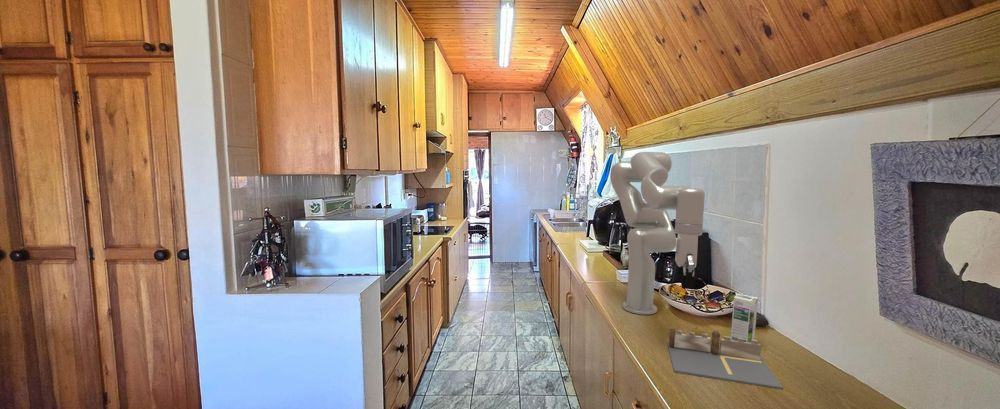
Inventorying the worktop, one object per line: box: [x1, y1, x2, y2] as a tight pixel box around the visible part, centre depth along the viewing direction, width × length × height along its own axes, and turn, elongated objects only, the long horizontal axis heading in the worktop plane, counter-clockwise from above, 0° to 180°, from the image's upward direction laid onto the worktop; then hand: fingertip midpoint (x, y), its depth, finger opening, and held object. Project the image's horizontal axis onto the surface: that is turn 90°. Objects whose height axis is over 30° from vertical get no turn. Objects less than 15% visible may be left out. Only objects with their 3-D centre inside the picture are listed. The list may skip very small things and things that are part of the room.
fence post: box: [710, 330, 762, 361], centre depth 113 cm, size 2×12×7 cm, turn 73°
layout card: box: [666, 340, 784, 390], centre depth 110 cm, size 18×25×1 cm
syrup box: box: [729, 293, 759, 343], centre depth 123 cm, size 6×6×14 cm
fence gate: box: [668, 328, 712, 352], centre depth 116 cm, size 11×2×5 cm, turn 73°
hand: (685, 283), depth 120 cm, fingers open, 9 cm apart
